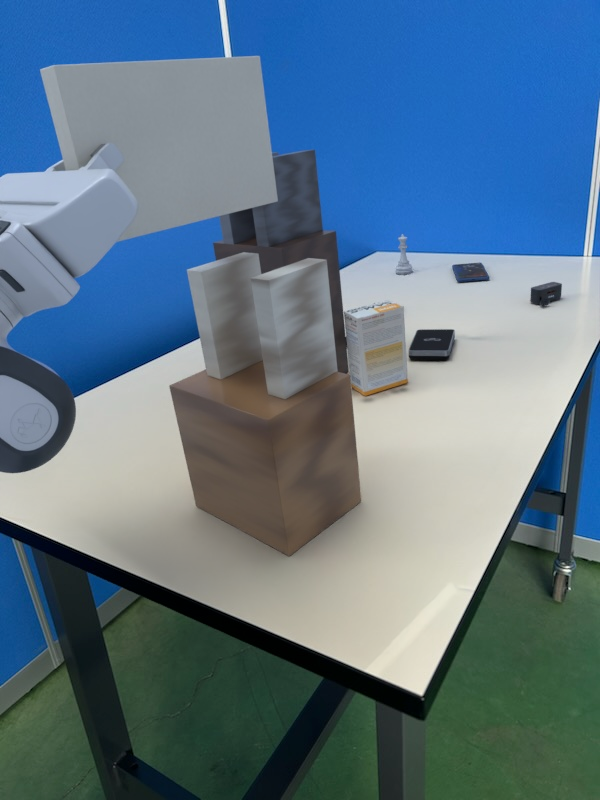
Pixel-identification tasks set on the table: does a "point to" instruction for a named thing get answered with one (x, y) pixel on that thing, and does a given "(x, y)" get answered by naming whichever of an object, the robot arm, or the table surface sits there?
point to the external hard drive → (432, 344)
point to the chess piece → (403, 259)
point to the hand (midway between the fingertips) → (103, 151)
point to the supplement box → (376, 346)
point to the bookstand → (289, 232)
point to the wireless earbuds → (546, 293)
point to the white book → (170, 133)
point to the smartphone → (470, 272)
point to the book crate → (268, 402)
